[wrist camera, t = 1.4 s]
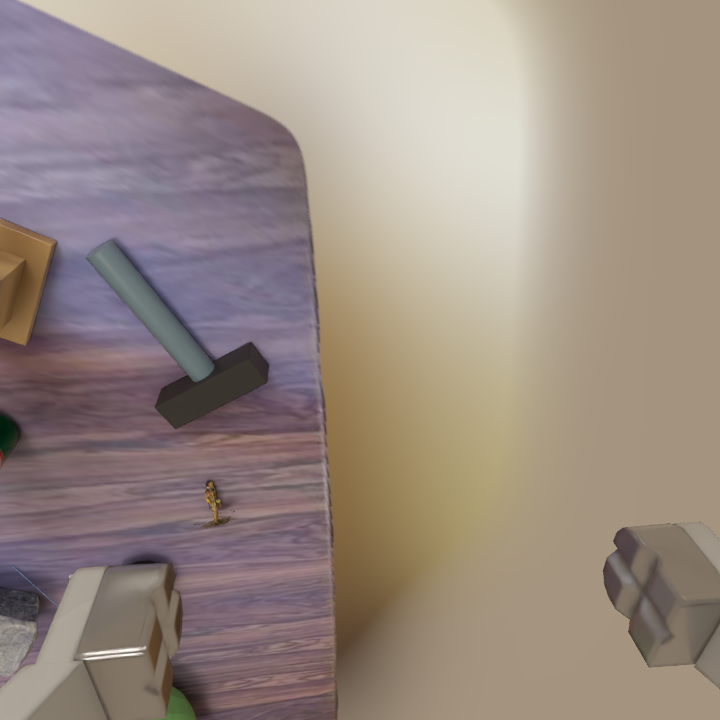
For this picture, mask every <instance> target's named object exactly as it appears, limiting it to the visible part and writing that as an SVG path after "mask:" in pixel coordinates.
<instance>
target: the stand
mask: <svg viewBox="0 0 720 720" xmlns="http://www.w3.org/2000/svg"><path fill="white" fill-rule="evenodd" d="M55 245H56V241H55V240H53V239H50V238H48V237H45V236H43V235H40V234H38V233H35V232H33V231H30V230H28V229H25V228H23V227H20V226H18V225H16V224H13V223H11V222H8V221H6V220H3V219H1V218H0V337H1V338H4V339H7V340H10V341H13V342H16V343H19V344H21V345H26V344H27V342H28V341H29V340H30V336H31V333H32V329H33V326H34V322H35V318H36V315H37V311H38V307H39V304H40V300H41V296H42V293H43V289H44V285H45V282H46V278H47V274H48V271H49V267H50V263H51V260H52V256H53V252H54V249H55Z"/></svg>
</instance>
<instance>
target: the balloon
mask: <svg viewBox="0 0 720 720" xmlns="http://www.w3.org/2000/svg"><path fill="white" fill-rule="evenodd" d="M154 720H197V719H196V716H195V713H194V711H193V709H192V707H191V705H190V703H189V702H188V700H187V699H186V697H185V696H184V695H183V694H182V693H181V691H179V690H178V689H176V688H175V687H173V686H172V688H171V693H170V698H169V704H168V709H167V714H166V718H161V719H154Z"/></svg>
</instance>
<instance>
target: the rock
mask: <svg viewBox="0 0 720 720" xmlns="http://www.w3.org/2000/svg"><path fill="white" fill-rule="evenodd" d="M39 604H40V601H39V600H38V595H36V594H33V593H29V592H24V591H18V590H8V589H2V588H0V676H3V677H7V676H9V675H12V674H13V673H15V672H16V670H17V669H18V667H19V665H20V664H21V663H22V662H23V661H24V659H25V658H26V657H27V655H28V654H29V652H30V650H31V648H32V647H33V645H34V642H35V640H36V638H37V633H38V632H37V629H38V628H37V614H38V611H39Z"/></svg>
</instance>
